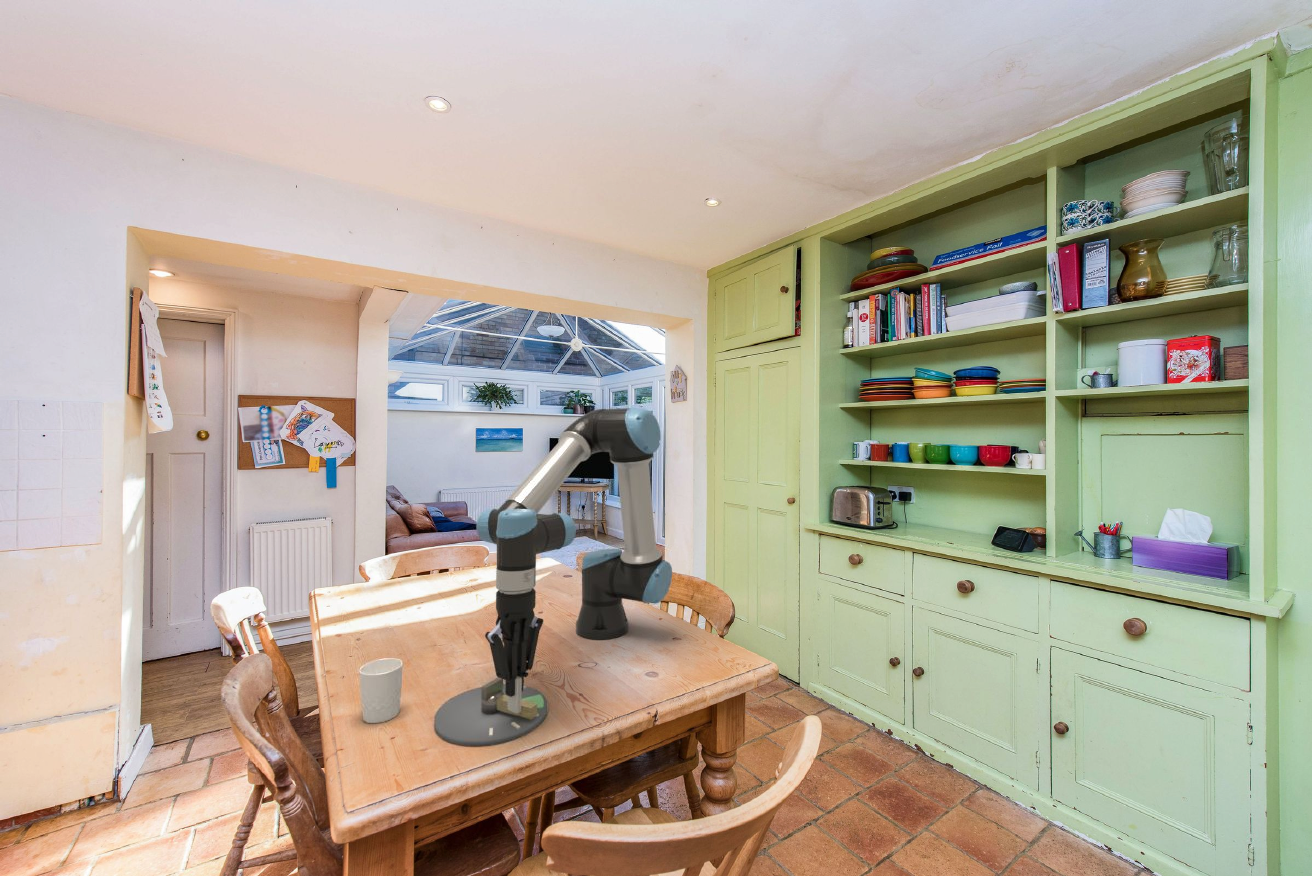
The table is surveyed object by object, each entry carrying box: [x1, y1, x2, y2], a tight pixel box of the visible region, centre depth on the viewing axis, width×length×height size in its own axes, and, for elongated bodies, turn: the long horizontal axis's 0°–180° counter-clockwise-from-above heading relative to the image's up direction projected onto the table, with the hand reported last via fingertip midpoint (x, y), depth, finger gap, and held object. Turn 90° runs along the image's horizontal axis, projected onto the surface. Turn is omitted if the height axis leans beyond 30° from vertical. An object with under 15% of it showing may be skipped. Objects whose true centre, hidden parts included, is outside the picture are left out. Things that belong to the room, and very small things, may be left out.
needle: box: [480, 677, 537, 720], centre depth 108 cm, size 13×5×5 cm, turn 64°
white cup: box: [358, 657, 403, 724], centre depth 110 cm, size 8×8×10 cm
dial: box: [433, 683, 548, 747], centre depth 110 cm, size 22×22×2 cm
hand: (514, 710), depth 106 cm, fingers closed
